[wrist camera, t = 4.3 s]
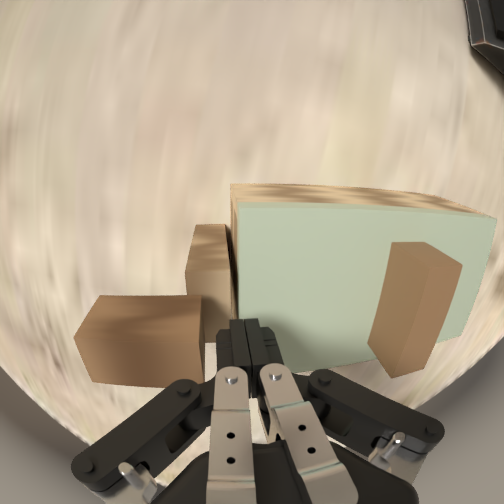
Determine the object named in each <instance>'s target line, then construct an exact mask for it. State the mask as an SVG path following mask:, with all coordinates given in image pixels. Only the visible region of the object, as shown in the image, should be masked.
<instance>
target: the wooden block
mask: <svg viewBox="0 0 504 504" xmlns="http://www.w3.org/2000/svg"><path fill="white" fill-rule="evenodd" d="M73 338H74V340H75V343H76V345H77V348H78V350H79V353H80V355H81V358H82V360H83V362H84V365H85V367H86V369H87V371H88V373H89V376H90V378H91V380H92V382H96V383H105V384H114V385H125V386H138V387H156V388H166V387H168V386H169V385H170V384H171V383H173V382H174V381H176V380H179V379H190V380H193V381H195V382H196V383H197V384H201V383H204V382H205V331H204V319H203V307H202V295H176V296H108V295H100V296H99V297H98V299H97V300H96V302H95V303H94V305H93V307H92V308H91V310H90V311H89V313H88V314H87V316H86V318H85V319H84V321H83V322H82V324H81V326H80V327H79V329H78V331H77V332H76V334H75V336H74V337H73Z"/></svg>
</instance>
